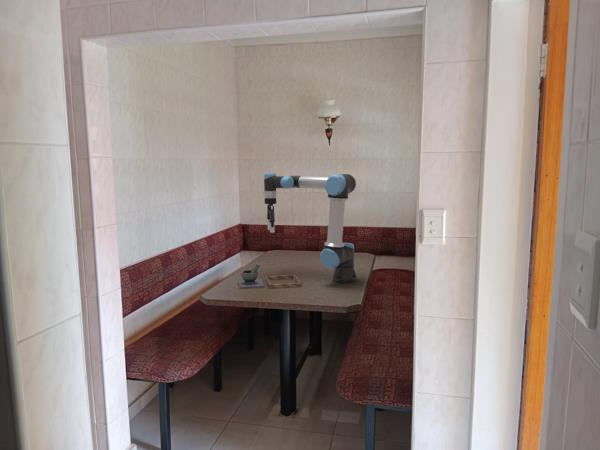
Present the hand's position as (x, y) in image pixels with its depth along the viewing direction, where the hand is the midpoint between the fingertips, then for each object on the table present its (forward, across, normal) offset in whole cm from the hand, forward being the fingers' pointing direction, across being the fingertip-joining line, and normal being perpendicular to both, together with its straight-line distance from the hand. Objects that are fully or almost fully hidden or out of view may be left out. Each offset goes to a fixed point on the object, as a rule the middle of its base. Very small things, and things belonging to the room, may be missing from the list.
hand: (271, 231), depth 293 cm
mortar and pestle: (+28, +21, -15) cm, 38 cm away
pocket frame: (+29, +21, +4) cm, 36 cm away
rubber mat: (+29, +21, -15) cm, 39 cm away
